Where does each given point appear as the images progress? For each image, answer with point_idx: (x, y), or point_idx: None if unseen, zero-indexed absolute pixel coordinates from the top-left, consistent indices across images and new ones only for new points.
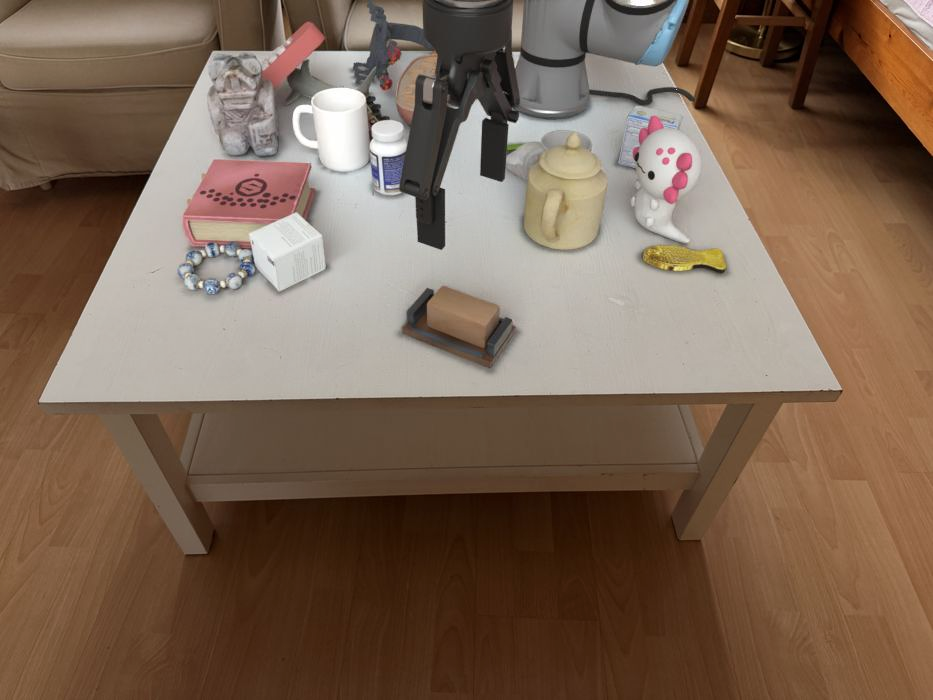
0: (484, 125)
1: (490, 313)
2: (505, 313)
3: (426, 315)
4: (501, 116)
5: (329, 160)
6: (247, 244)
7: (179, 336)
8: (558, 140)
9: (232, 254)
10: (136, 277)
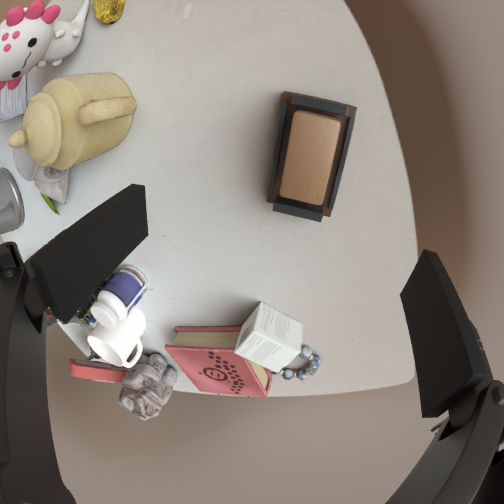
0: (70, 310)
1: (315, 121)
2: (257, 110)
3: None
4: (26, 292)
5: (143, 328)
6: None
7: (363, 357)
8: (25, 165)
9: None
10: (311, 387)
